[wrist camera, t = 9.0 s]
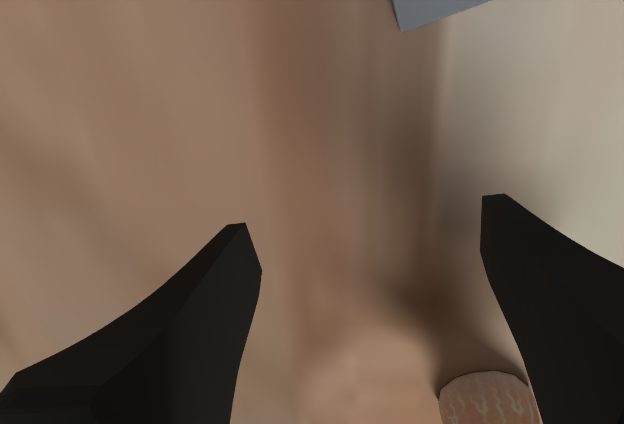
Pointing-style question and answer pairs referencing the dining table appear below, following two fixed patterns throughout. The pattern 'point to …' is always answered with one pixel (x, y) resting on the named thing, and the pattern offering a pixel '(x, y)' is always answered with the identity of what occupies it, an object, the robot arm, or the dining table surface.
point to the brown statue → (487, 400)
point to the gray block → (428, 11)
